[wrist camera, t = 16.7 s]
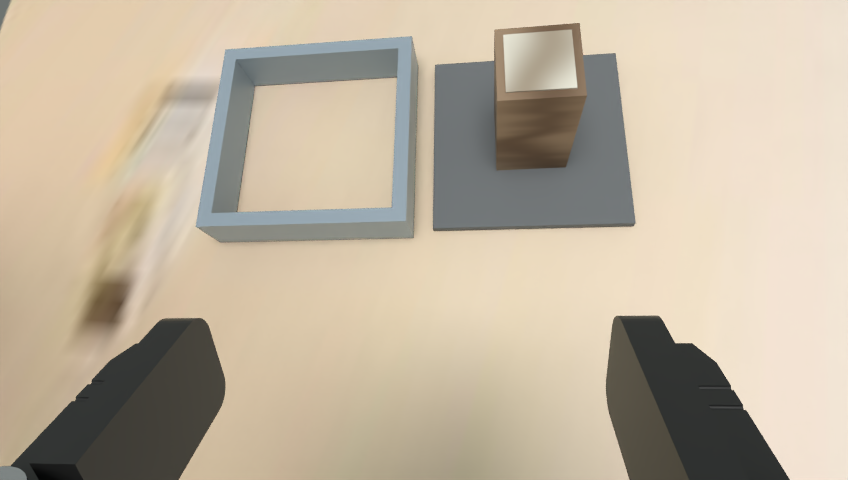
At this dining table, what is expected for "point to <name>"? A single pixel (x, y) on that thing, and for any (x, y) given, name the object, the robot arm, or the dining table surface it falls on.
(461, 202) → the rubber mat
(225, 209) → the grey bin
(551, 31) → the walnut box
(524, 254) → the dining table surface
